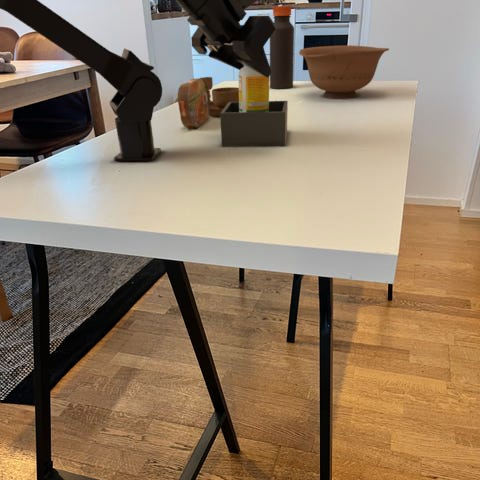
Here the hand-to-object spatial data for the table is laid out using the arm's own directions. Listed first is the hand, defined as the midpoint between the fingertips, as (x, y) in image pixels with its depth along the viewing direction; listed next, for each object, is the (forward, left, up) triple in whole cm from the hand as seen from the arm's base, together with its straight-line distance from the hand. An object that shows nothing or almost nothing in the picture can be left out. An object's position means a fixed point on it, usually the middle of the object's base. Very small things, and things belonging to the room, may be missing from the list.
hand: (260, 73), depth 84 cm
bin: (-1, +1, -11) cm, 11 cm away
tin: (+13, +15, -11) cm, 23 cm away
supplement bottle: (-1, +1, -7) cm, 7 cm away
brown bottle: (+62, -1, -11) cm, 63 cm away
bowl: (+45, -17, -11) cm, 50 cm away
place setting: (+29, +10, -11) cm, 33 cm away
